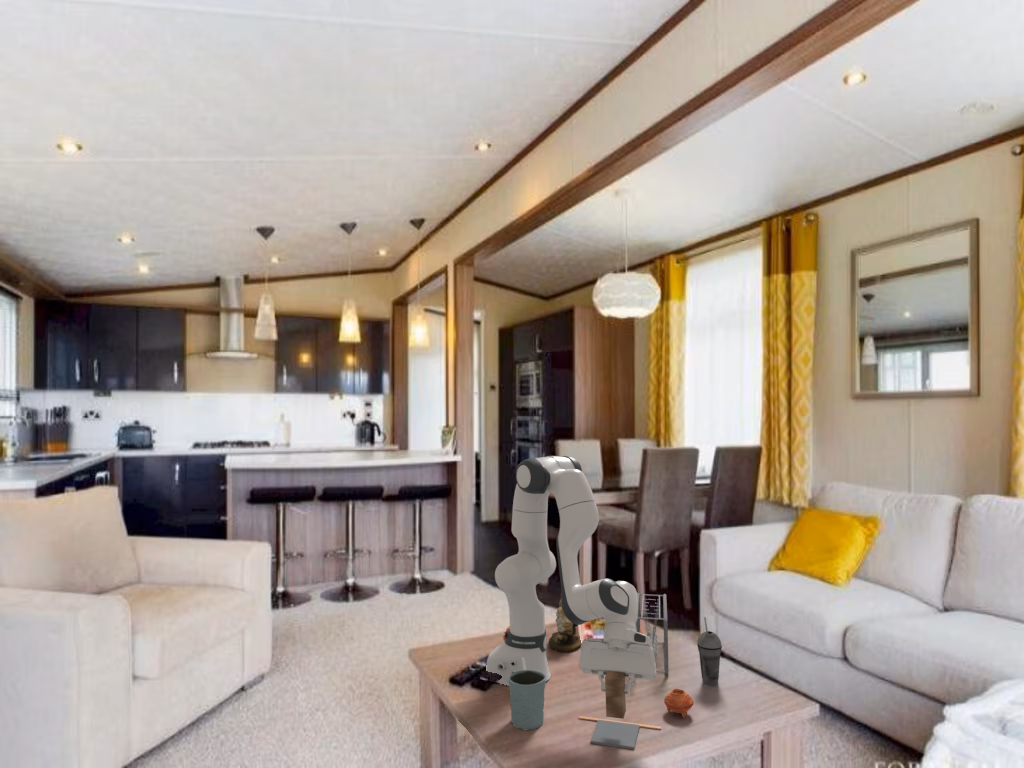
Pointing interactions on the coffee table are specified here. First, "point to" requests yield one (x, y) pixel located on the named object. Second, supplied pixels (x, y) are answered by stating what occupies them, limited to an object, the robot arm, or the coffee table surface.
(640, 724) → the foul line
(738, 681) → the coffee table surface
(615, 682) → the wooden square post
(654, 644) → the newton's cradle
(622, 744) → the mat
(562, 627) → the brown lumpy statue
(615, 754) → the coffee table surface
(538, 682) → the teal tumbler
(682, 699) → the pot
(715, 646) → the beverage cup
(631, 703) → the coffee table surface
